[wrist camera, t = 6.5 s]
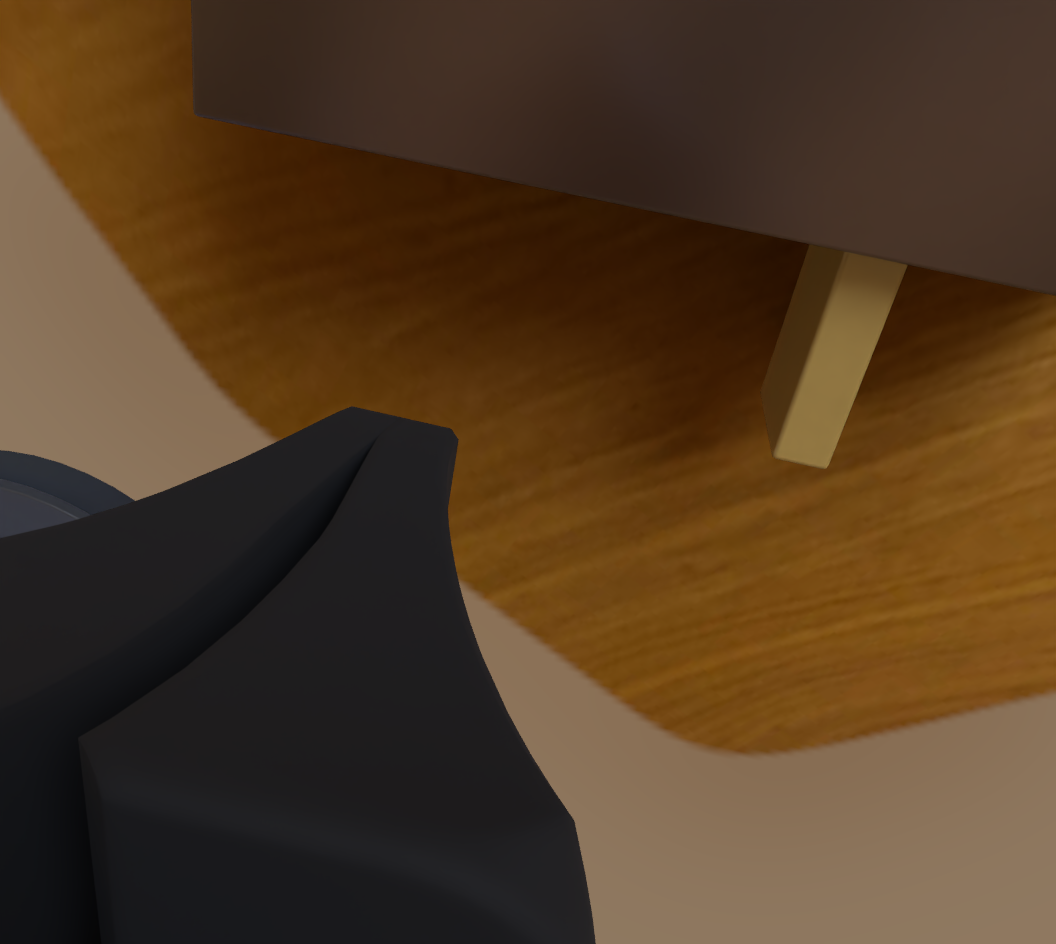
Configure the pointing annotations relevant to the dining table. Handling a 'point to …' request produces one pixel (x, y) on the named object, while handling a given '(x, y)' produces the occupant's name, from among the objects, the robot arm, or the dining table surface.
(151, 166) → the dining table surface
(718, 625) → the dining table surface
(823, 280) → the sliding door
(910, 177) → the cabinet
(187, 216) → the dining table surface
